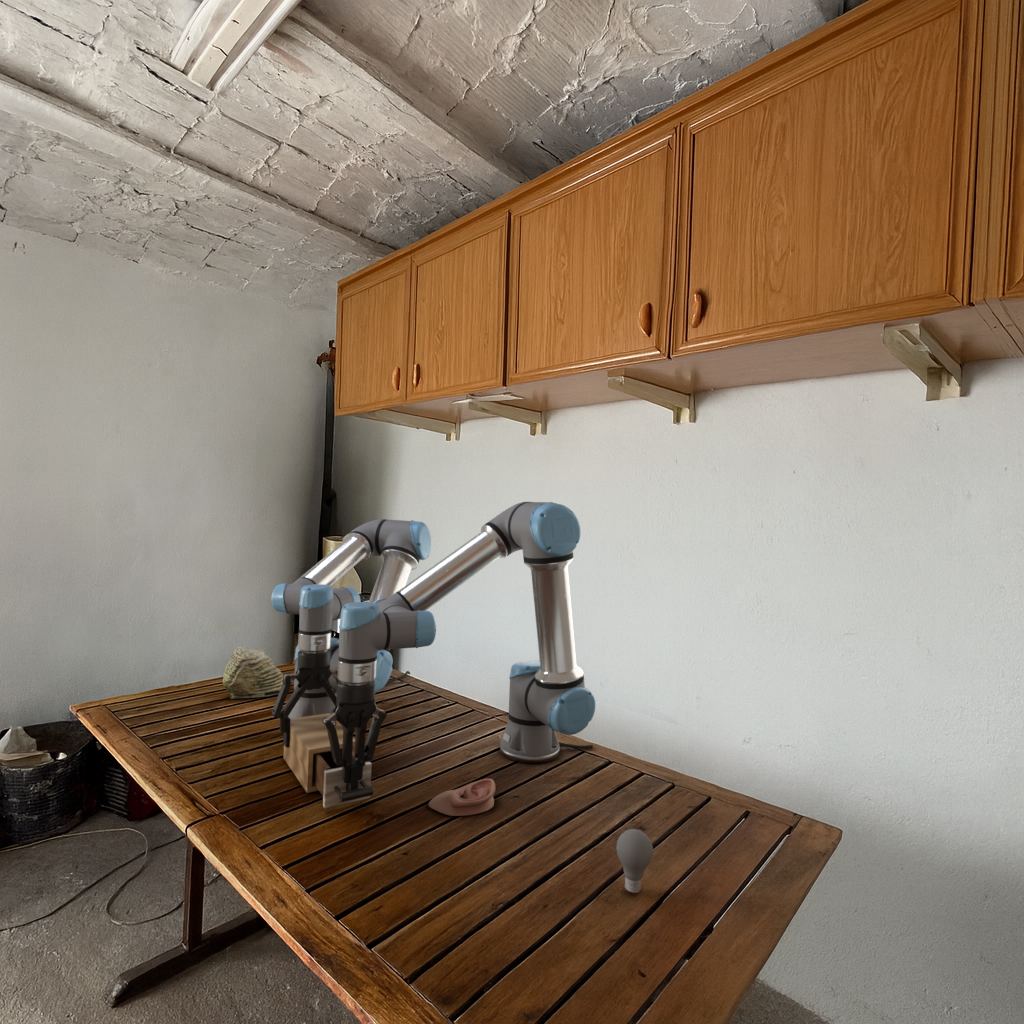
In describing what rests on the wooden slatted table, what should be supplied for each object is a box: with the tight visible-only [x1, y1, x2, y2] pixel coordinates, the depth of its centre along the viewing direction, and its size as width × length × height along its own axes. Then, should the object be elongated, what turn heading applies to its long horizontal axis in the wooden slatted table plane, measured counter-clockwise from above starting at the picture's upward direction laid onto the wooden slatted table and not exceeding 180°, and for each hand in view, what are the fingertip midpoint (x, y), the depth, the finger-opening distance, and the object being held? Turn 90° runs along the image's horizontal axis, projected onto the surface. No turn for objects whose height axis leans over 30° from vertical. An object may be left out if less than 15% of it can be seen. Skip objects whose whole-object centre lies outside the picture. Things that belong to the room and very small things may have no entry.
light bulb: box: [615, 828, 654, 894], centre depth 106 cm, size 6×6×10 cm
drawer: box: [312, 749, 374, 809], centre depth 135 cm, size 24×10×7 cm, turn 33°
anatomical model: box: [427, 778, 496, 817], centre depth 133 cm, size 13×4×12 cm
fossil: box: [222, 646, 284, 699], centre depth 198 cm, size 9×18×15 cm, turn 132°
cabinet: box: [282, 713, 355, 794], centre depth 147 cm, size 20×11×9 cm, turn 33°
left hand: (311, 741), depth 152 cm, fingers closed on cabinet, 11 cm apart
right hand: (351, 796), depth 127 cm, fingers closed
